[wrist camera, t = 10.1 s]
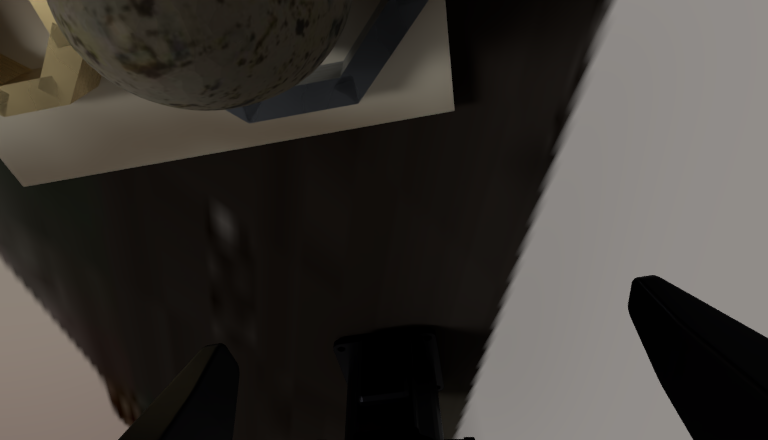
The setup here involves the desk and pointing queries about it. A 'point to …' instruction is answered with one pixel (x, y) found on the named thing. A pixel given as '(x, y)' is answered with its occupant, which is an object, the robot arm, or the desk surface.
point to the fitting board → (205, 128)
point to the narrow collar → (45, 74)
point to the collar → (343, 68)
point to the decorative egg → (203, 46)
